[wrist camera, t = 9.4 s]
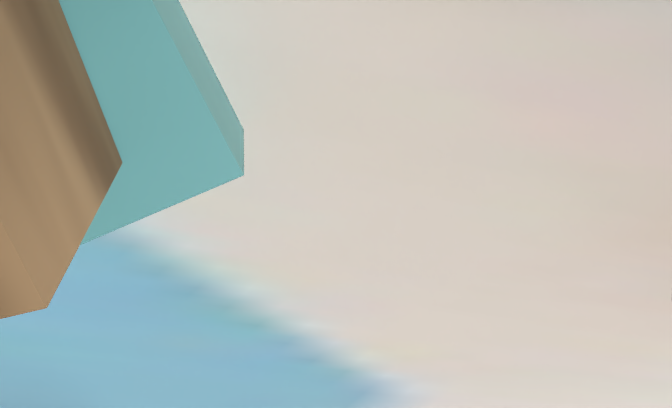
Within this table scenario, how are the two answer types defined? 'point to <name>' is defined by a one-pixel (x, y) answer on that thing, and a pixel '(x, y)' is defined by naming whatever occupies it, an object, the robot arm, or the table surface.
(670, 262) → the table surface
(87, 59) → the teal plinth
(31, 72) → the walnut block
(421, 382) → the table surface
